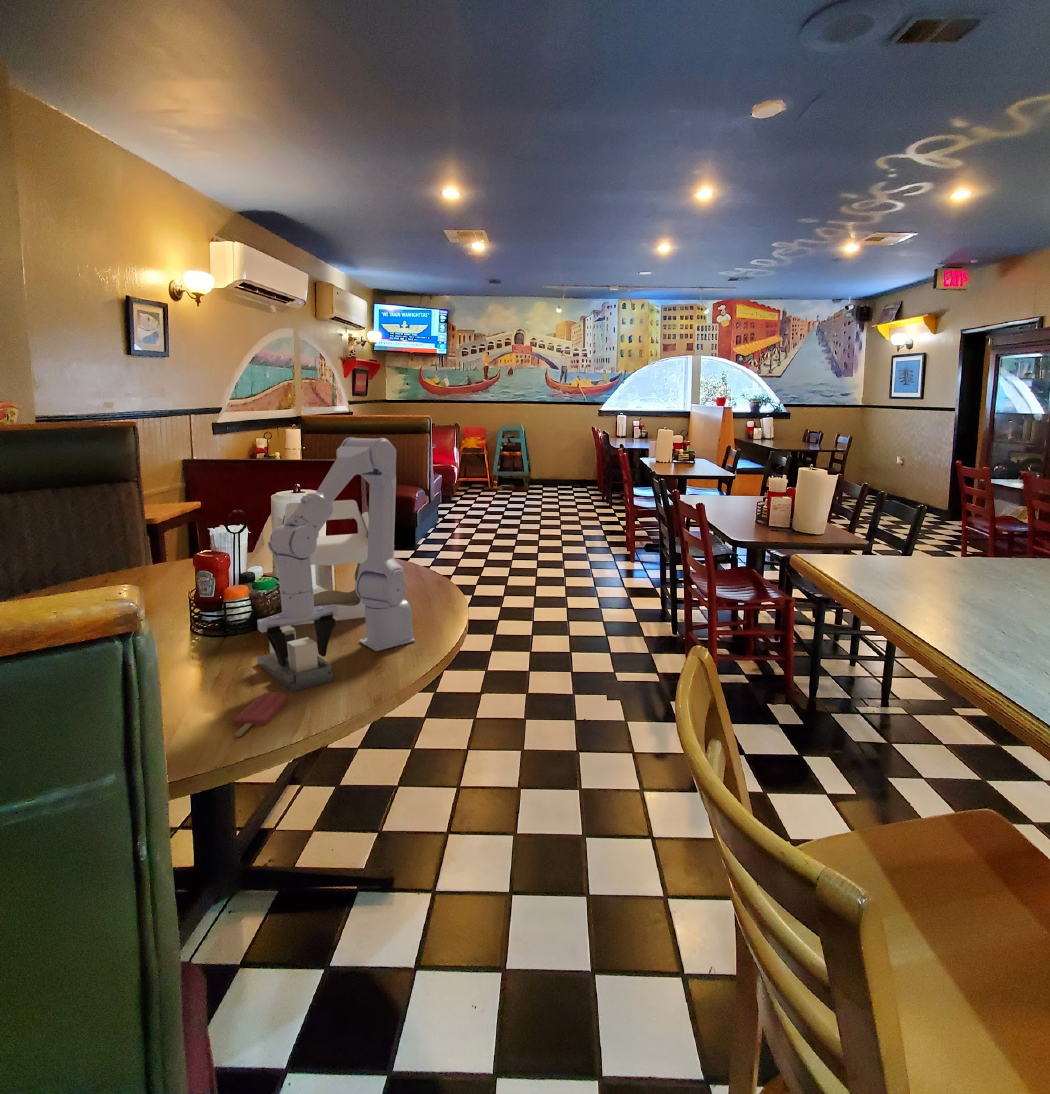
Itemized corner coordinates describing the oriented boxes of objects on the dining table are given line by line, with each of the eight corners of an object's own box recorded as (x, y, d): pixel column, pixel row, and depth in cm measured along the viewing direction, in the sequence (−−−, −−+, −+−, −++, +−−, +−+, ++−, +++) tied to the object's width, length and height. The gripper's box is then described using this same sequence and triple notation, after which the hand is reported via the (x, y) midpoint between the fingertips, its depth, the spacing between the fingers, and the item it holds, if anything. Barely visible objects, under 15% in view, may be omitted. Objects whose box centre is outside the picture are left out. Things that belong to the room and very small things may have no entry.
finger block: (318, 672, 129) (315, 642, 127) (297, 678, 126) (294, 647, 125) (309, 666, 132) (307, 636, 131) (289, 671, 129) (286, 641, 128)
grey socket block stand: (296, 654, 142) (293, 619, 141) (333, 680, 129) (330, 642, 127) (257, 663, 137) (254, 628, 136) (291, 692, 124) (287, 653, 122)
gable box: (372, 601, 179) (365, 495, 173) (379, 616, 167) (372, 502, 161) (282, 611, 172) (272, 500, 166) (282, 627, 160) (271, 508, 154)
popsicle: (219, 731, 107) (261, 691, 122) (220, 740, 108) (262, 699, 122) (252, 732, 107) (291, 691, 121) (253, 741, 107) (291, 699, 122)
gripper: (325, 578, 133) (330, 645, 136) (248, 592, 124) (256, 663, 127) (340, 586, 128) (345, 654, 131) (262, 601, 119) (269, 674, 122)
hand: (302, 659), depth 129 cm, fingers open, 7 cm apart
